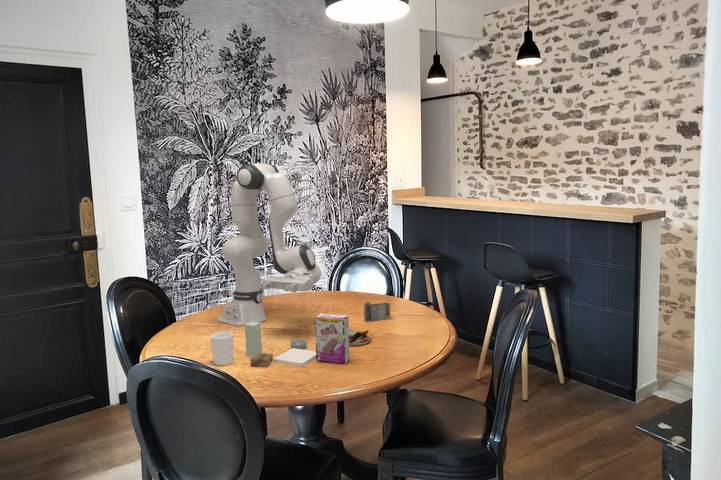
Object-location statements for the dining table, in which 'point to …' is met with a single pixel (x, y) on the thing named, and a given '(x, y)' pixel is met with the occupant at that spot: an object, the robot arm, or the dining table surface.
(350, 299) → the dining table surface
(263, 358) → the walnut block
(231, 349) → the white cup
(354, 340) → the toy sandwich meal
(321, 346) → the candy bar box
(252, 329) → the sage block
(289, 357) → the plate
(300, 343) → the grey domed disc
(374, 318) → the dark grey piece
